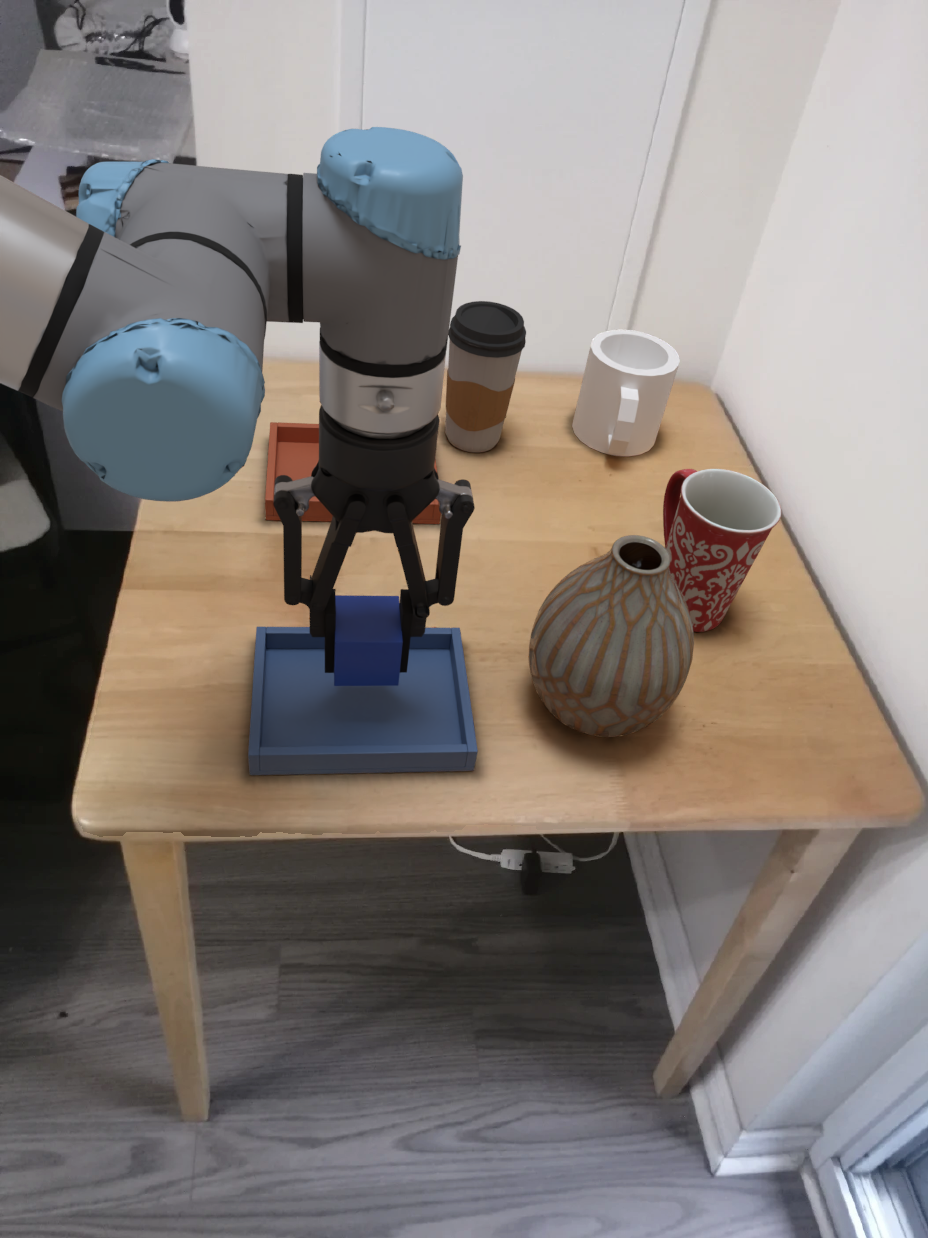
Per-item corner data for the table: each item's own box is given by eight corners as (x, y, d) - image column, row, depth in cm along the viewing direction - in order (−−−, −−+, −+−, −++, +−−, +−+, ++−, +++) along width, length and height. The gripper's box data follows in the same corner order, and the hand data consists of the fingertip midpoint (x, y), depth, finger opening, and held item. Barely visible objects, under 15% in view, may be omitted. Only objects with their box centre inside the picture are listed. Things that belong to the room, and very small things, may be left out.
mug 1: (659, 478, 107) (686, 398, 100) (571, 465, 107) (591, 383, 100) (652, 414, 117) (676, 336, 109) (572, 402, 117) (590, 323, 109)
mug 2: (750, 633, 91) (801, 525, 81) (667, 646, 88) (711, 536, 79) (690, 548, 99) (731, 441, 89) (613, 558, 96) (646, 449, 87)
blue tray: (249, 775, 72) (248, 755, 71) (257, 647, 82) (256, 626, 80) (473, 771, 75) (478, 751, 73) (456, 647, 85) (459, 627, 83)
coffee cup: (514, 428, 111) (536, 309, 101) (497, 466, 105) (519, 344, 95) (447, 410, 112) (462, 291, 102) (427, 447, 106) (440, 325, 96)
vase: (662, 661, 87) (720, 513, 74) (669, 776, 77) (737, 629, 65) (522, 639, 86) (557, 487, 74) (512, 752, 77) (550, 599, 65)
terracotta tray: (265, 520, 94) (265, 499, 92) (270, 441, 103) (270, 421, 102) (439, 524, 97) (442, 504, 95) (429, 447, 106) (431, 428, 104)
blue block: (334, 686, 73) (335, 642, 69) (333, 639, 76) (334, 595, 73) (398, 685, 73) (402, 642, 70) (395, 639, 77) (398, 595, 73)
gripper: (227, 437, 54) (247, 697, 71) (531, 447, 57) (482, 695, 73) (235, 369, 59) (251, 626, 76) (513, 381, 62) (471, 626, 79)
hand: (365, 659), depth 75 cm, fingers closed on blue block, 5 cm apart
